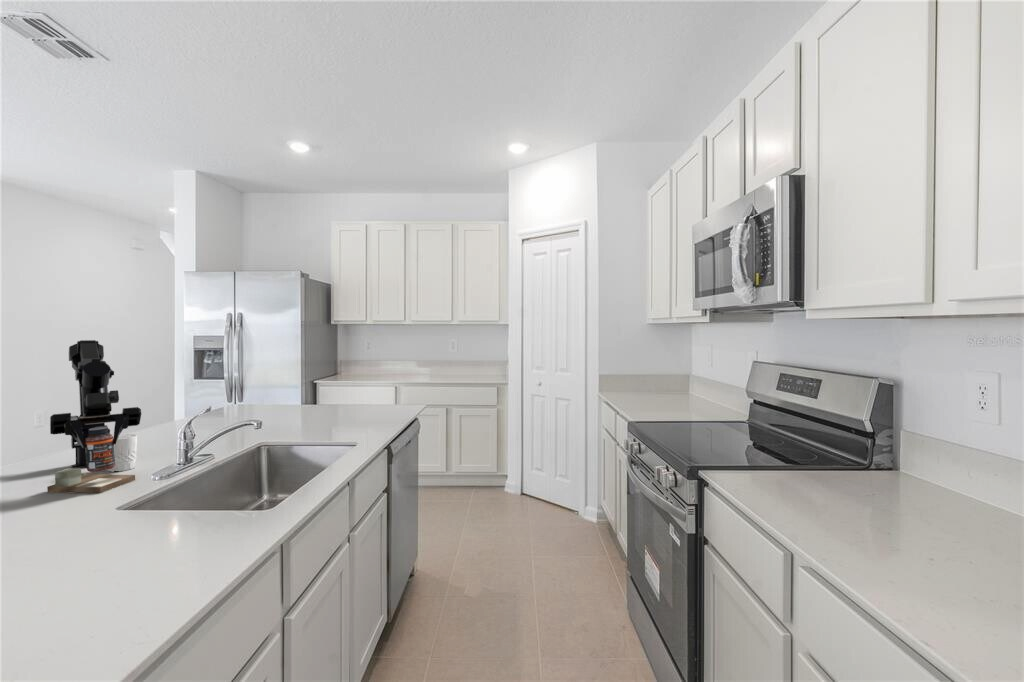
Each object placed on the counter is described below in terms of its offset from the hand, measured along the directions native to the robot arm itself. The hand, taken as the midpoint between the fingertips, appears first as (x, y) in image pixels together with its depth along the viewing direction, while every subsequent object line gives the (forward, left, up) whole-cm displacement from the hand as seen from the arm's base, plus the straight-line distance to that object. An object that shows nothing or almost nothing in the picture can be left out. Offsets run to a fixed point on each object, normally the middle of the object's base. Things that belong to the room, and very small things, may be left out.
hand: (99, 445), depth 127 cm
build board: (-5, +3, -12) cm, 13 cm away
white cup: (-11, +19, -12) cm, 25 cm away
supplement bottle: (-1, +1, -7) cm, 7 cm away
